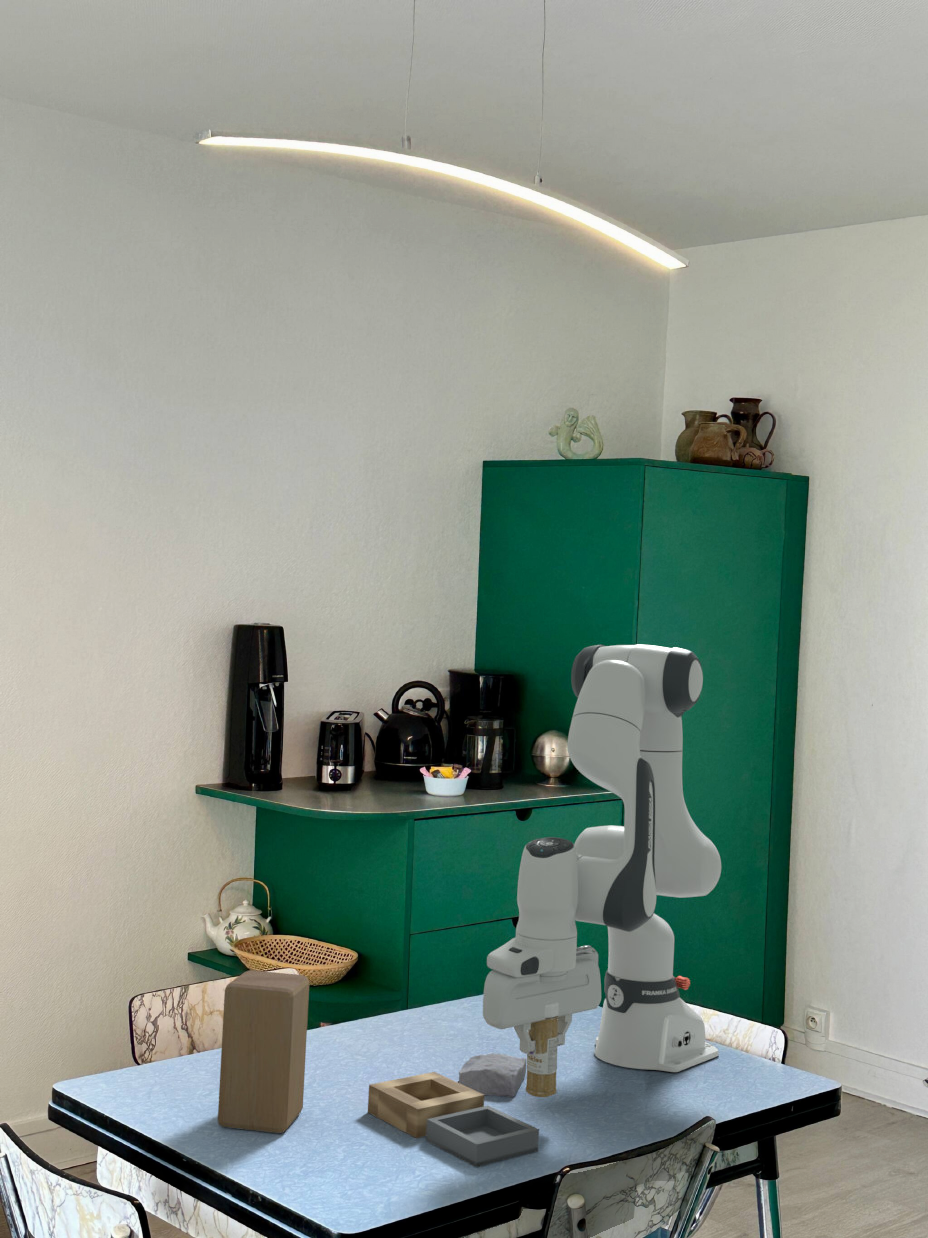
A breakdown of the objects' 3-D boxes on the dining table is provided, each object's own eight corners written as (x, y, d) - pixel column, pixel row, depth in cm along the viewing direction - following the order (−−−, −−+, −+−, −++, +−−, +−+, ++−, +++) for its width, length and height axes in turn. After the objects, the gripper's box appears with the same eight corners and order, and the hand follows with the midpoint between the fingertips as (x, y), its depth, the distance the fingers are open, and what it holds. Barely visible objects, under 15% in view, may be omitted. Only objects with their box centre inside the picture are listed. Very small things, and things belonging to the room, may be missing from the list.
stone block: (456, 1105, 208) (519, 1099, 206) (452, 1073, 208) (515, 1067, 207) (470, 1084, 220) (530, 1078, 218) (466, 1054, 220) (526, 1048, 218)
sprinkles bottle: (519, 1092, 194) (521, 999, 194) (539, 1084, 198) (541, 993, 197) (543, 1101, 191) (545, 1006, 191) (563, 1093, 195) (565, 1000, 194)
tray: (486, 1126, 193) (488, 1105, 194) (538, 1151, 185) (539, 1129, 185) (425, 1141, 187) (426, 1119, 187) (475, 1167, 178) (477, 1144, 178)
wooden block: (238, 1105, 197) (245, 968, 198) (304, 1112, 196) (311, 974, 196) (214, 1129, 187) (222, 984, 188) (284, 1136, 186) (291, 991, 186)
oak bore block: (432, 1098, 204) (434, 1072, 204) (483, 1122, 195) (484, 1095, 195) (367, 1112, 197) (369, 1084, 197) (416, 1138, 187) (418, 1109, 188)
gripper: (583, 939, 203) (579, 1030, 203) (477, 957, 190) (474, 1054, 191) (612, 948, 198) (609, 1041, 198) (506, 967, 185) (503, 1067, 186)
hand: (542, 1048), depth 194 cm, fingers closed on sprinkles bottle, 4 cm apart
